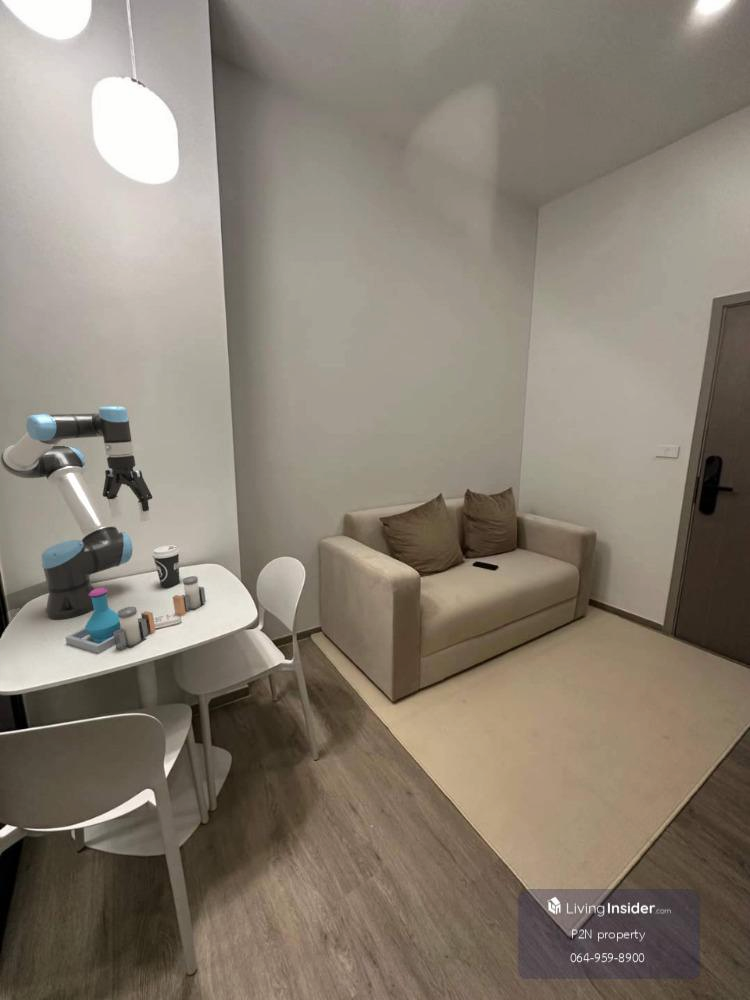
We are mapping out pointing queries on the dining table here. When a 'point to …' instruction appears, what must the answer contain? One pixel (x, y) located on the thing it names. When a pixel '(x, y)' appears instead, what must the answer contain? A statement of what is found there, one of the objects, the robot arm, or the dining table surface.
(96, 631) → the perfume bottle
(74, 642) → the tray
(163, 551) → the coffee cup
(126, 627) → the canister
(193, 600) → the canister
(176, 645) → the dining table surface
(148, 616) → the clip rack
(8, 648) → the dining table surface
